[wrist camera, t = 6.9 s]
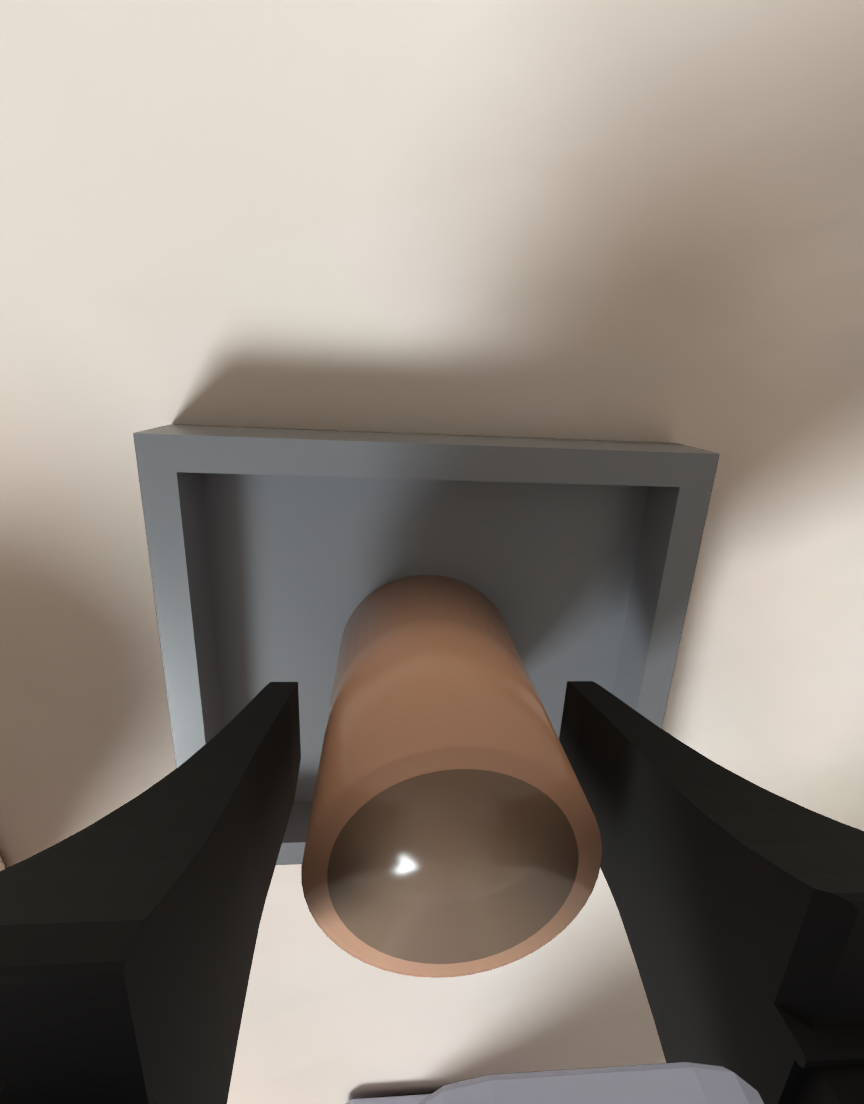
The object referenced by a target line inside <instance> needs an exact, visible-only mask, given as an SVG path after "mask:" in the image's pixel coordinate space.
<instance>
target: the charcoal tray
mask: <svg viewBox="0 0 864 1104" xmlns="http://www.w3.org/2000/svg"><path fill="white" fill-rule="evenodd" d="M133 435H134V443H135V451H136V458H137V466H138V474H139V482H140V489H141V497H142V505H143V513H144V520H145V528H146V536H147V544H148V551H149V559H150V567H151V575H152V582H153V590H154V598H155V606H156V613H157V621H158V629H159V637H160V644H161V652H162V660H163V668H164V675H165V683H166V691H167V699H168V706H169V714H170V722H171V730H172V737H173V745H174V753H175V761H176V768H178V767H179V766H180V765H182V764H183V763H184V762H185V761H187V760H188V759H189V758H190V757H191V756H192V755H194V754H195V753H196V752H197V751H198V750H199V749H201V748H202V747H203V746H204V745H205V744H206V743H208V742H209V741H210V740H211V739H212V738H213V737H214V736H215V735H216V734H217V733H219V732H220V731H221V730H222V729H223V728H224V727H225V726H226V725H227V724H228V723H229V722H230V721H231V720H232V719H233V718H234V717H235V716H236V715H237V714H238V713H239V712H240V711H241V710H242V709H243V708H244V707H245V706H246V705H247V704H248V703H249V702H250V701H251V700H252V699H253V698H254V697H255V696H256V695H257V694H258V693H259V692H260V691H261V690H262V689H263V688H264V687H265V686H266V685H267V684H269V683H270V682H298V694H299V720H300V745H301V761H300V768H299V774H298V781H297V786H296V792H295V798H294V803H293V806H292V810H291V813H290V817H289V820H288V824H287V827H286V831H285V834H284V838H283V841H282V845H281V848H280V852H279V855H278V858H277V862H276V865H289V864H302V861H303V855H304V849H305V843H306V838H307V832H308V826H309V821H310V815H311V809H312V803H313V798H314V792H315V786H316V781H317V775H318V769H319V763H320V758H321V752H322V746H323V741H324V735H325V729H326V724H327V718H328V712H329V706H330V701H331V695H332V689H333V684H334V678H335V672H336V666H337V661H338V655H339V649H340V644H341V638H342V634H343V631H344V628H345V626H346V624H347V622H348V620H349V618H350V616H351V615H352V613H353V612H354V610H355V609H356V608H357V607H358V605H359V604H360V603H361V602H362V601H363V600H364V599H365V598H366V597H368V596H369V595H370V594H371V593H373V592H374V591H376V590H377V589H379V588H380V587H382V586H384V585H386V584H388V583H390V582H393V581H396V580H399V579H402V578H406V577H411V576H417V575H439V576H445V577H450V578H453V579H457V580H460V581H462V582H464V583H466V584H469V585H471V586H472V587H474V588H475V589H477V590H479V591H480V592H481V593H482V594H484V595H485V596H486V597H487V598H488V599H489V600H490V601H491V602H492V603H493V604H494V606H495V607H496V608H497V610H498V611H499V613H500V615H501V617H502V619H503V621H504V623H505V625H506V627H507V629H508V631H509V634H510V636H511V638H512V640H513V642H514V644H515V646H516V649H517V651H518V653H519V655H520V657H521V659H522V661H523V664H524V666H525V668H526V670H527V672H528V674H529V676H530V679H531V681H532V683H533V685H534V687H535V689H536V691H537V694H538V696H539V698H540V700H541V702H542V704H543V706H544V709H545V711H546V713H547V715H548V717H549V719H550V721H551V724H552V726H553V728H554V730H555V732H556V734H557V736H558V739H559V735H560V728H561V721H562V714H563V707H564V700H565V693H566V686H567V681H593V682H595V683H597V684H598V685H600V686H601V687H603V688H604V689H606V690H607V691H609V692H610V693H612V694H613V695H614V696H616V697H617V698H619V699H620V700H621V701H623V702H624V703H626V704H627V705H628V706H630V707H631V708H633V709H634V710H635V711H637V712H638V713H640V714H641V715H642V716H644V717H645V718H647V719H648V720H650V721H651V722H652V723H654V724H655V725H657V726H658V727H660V728H662V723H663V719H664V714H665V709H666V705H667V700H668V695H669V690H670V686H671V681H672V676H673V671H674V667H675V662H676V657H677V653H678V648H679V643H680V638H681V634H682V629H683V624H684V619H685V615H686V610H687V605H688V600H689V596H690V591H691V586H692V582H693V577H694V572H695V567H696V563H697V558H698V553H699V548H700V544H701V539H702V534H703V530H704V525H705V520H706V515H707V511H708V506H709V501H710V496H711V492H712V487H713V482H714V477H715V473H716V468H717V463H718V459H719V454H717V453H713V452H709V451H705V450H701V449H697V448H693V447H689V446H685V445H681V444H677V443H656V442H629V441H602V440H575V439H547V438H520V437H493V436H466V435H439V434H412V433H385V432H358V431H330V430H303V429H276V428H249V427H222V426H195V425H166V426H162V427H158V428H154V429H149V430H145V431H141V432H137V433H133Z"/></svg>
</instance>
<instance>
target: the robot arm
mask: <svg viewBox="0 0 864 1104" xmlns="http://www.w3.org/2000/svg"><path fill="white" fill-rule="evenodd" d="M559 741H560V743H561V745H562V747H563V749H564V751H565V754H566V756H567V758H568V760H569V762H570V764H571V766H572V769H573V771H574V773H575V775H576V777H577V779H578V781H579V784H580V786H581V788H582V790H583V792H584V794H585V796H586V799H587V801H588V803H589V805H590V807H591V809H592V811H593V814H594V816H595V818H596V821H597V824H598V828H599V831H600V837H601V845H602V852H601V864H600V867H601V870H602V872H603V874H604V876H605V879H606V881H607V883H608V885H609V887H610V890H611V892H612V895H613V897H614V900H615V902H616V905H617V907H618V910H619V913H620V916H621V919H622V922H623V924H624V927H625V930H626V933H627V936H628V939H629V942H630V945H631V948H632V951H633V954H634V957H635V960H636V963H637V967H638V970H639V973H640V976H641V979H642V982H643V986H644V989H645V992H646V995H647V998H648V1002H649V1005H650V1008H651V1011H652V1014H653V1018H654V1021H655V1025H656V1028H657V1031H658V1035H659V1038H660V1042H661V1045H662V1049H663V1052H664V1056H665V1059H666V1063H663V1064H647V1065H632V1066H617V1067H601V1068H586V1069H571V1070H555V1071H540V1072H524V1073H509V1074H494V1075H485V1076H481V1077H477V1078H472V1079H468V1080H464V1081H460V1082H455V1083H451V1084H447V1085H444V1086H443V1087H441V1088H440V1089H438V1090H437V1091H435V1092H434V1093H432V1094H422V1095H407V1096H392V1097H378V1098H363V1099H353V1100H349V1101H347V1102H346V1103H345V1104H864V831H861V830H859V829H856V828H853V827H851V826H848V825H845V824H843V823H840V822H838V821H835V820H833V819H830V818H828V817H825V816H823V815H821V814H818V813H816V812H813V811H811V810H809V809H806V808H804V807H802V806H800V805H798V804H795V803H793V802H791V801H789V800H787V799H784V798H782V797H780V796H778V795H776V794H773V793H771V792H769V791H767V790H765V789H763V788H761V787H759V786H757V785H755V784H753V783H751V782H749V781H748V780H746V779H744V778H742V777H740V776H738V775H736V774H735V773H733V772H731V771H729V770H727V769H725V768H723V767H722V766H720V765H718V764H716V763H715V762H713V761H711V760H710V759H708V758H706V757H705V756H703V755H701V754H700V753H698V752H697V751H695V750H693V749H692V748H690V747H689V746H687V745H685V744H684V743H682V742H681V741H679V740H678V739H676V738H675V737H673V736H671V735H670V734H668V733H667V732H665V731H664V730H663V729H661V728H660V727H658V726H657V725H655V724H654V723H652V722H651V721H650V720H648V719H647V718H645V717H644V716H642V715H641V714H640V713H638V712H637V711H635V710H634V709H633V708H631V707H630V706H628V705H627V704H626V703H624V702H623V701H621V700H620V699H619V698H617V697H616V696H614V695H613V694H612V693H610V692H609V691H607V690H606V689H604V688H603V687H601V686H600V685H598V684H597V683H595V682H593V681H567V686H566V693H565V700H564V707H563V714H562V721H561V728H560V735H559ZM300 761H301V745H300V720H299V694H298V682H270V683H269V684H267V685H266V686H265V687H264V688H263V689H262V690H261V691H260V692H259V693H258V694H257V695H256V696H255V697H254V698H253V699H252V700H251V701H250V702H249V703H248V704H247V705H246V706H245V707H244V708H243V709H242V710H241V711H240V712H239V713H238V714H237V715H236V716H235V717H234V718H233V719H232V720H231V721H230V722H229V723H228V724H227V725H226V726H225V727H224V728H223V729H222V730H221V731H220V732H219V733H217V734H216V735H215V736H214V737H213V738H212V739H211V740H210V741H209V742H208V743H206V744H205V745H204V746H203V747H202V748H201V749H199V750H198V751H197V752H196V753H195V754H194V755H192V756H191V757H190V758H189V759H188V760H187V761H185V762H184V763H183V764H182V765H180V766H179V767H178V768H177V769H175V770H174V771H173V772H171V773H170V774H169V775H167V776H166V777H165V778H163V779H162V780H160V781H159V782H157V783H156V784H155V785H153V786H152V787H150V788H149V789H148V790H146V791H145V792H143V793H142V794H140V795H139V796H137V797H136V798H134V799H133V800H131V801H129V802H128V803H126V804H124V805H123V806H121V807H120V808H118V809H116V810H115V811H113V812H111V813H110V814H108V815H107V816H105V817H103V818H102V819H100V820H98V821H97V822H95V823H94V824H92V825H90V826H88V827H87V828H85V829H83V830H81V831H80V832H78V833H76V834H74V835H72V836H70V837H69V838H67V839H65V840H63V841H61V842H59V843H57V844H55V845H53V846H51V847H50V848H48V849H46V850H44V851H42V852H40V853H38V854H36V855H34V856H32V857H30V858H28V859H26V860H24V861H21V862H19V863H17V864H15V865H13V866H11V867H9V868H7V869H4V870H2V871H0V1104H227V1099H228V1093H229V1087H230V1081H231V1075H232V1069H233V1063H234V1058H235V1052H236V1046H237V1040H238V1035H239V1029H240V1024H241V1018H242V1013H243V1007H244V1002H245V996H246V991H247V985H248V980H249V975H250V970H251V964H252V959H253V954H254V949H255V944H256V939H257V933H258V928H259V924H260V920H261V916H262V912H263V908H264V904H265V900H266V896H267V893H268V889H269V886H270V883H271V879H272V876H273V872H274V869H275V865H276V862H277V858H278V855H279V852H280V848H281V845H282V841H283V838H284V834H285V831H286V827H287V824H288V820H289V817H290V813H291V810H292V806H293V803H294V798H295V792H296V786H297V781H298V774H299V768H300Z"/></svg>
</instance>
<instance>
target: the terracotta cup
mask: <svg viewBox="0 0 864 1104" xmlns="http://www.w3.org/2000/svg"><path fill="white" fill-rule="evenodd" d="M601 852H602V845H601V837H600V831H599V828H598V824H597V821H596V818H595V816H594V814H593V811H592V809H591V807H590V805H589V803H588V801H587V799H586V796H585V794H584V792H583V790H582V788H581V786H580V784H579V781H578V779H577V777H576V775H575V773H574V771H573V769H572V766H571V764H570V762H569V760H568V758H567V756H566V754H565V751H564V749H563V747H562V745H561V743H560V741H559V739H558V736H557V734H556V732H555V730H554V728H553V726H552V724H551V721H550V719H549V717H548V715H547V713H546V711H545V709H544V706H543V704H542V702H541V700H540V698H539V696H538V694H537V691H536V689H535V687H534V685H533V683H532V681H531V679H530V676H529V674H528V672H527V670H526V668H525V666H524V664H523V661H522V659H521V657H520V655H519V653H518V651H517V649H516V646H515V644H514V642H513V640H512V638H511V636H510V634H509V631H508V629H507V627H506V625H505V623H504V621H503V619H502V617H501V615H500V613H499V611H498V610H497V608H496V607H495V606H494V604H493V603H492V602H491V601H490V600H489V599H488V598H487V597H486V596H485V595H484V594H482V593H481V592H480V591H479V590H477V589H475V588H474V587H472V586H471V585H469V584H466V583H464V582H462V581H460V580H457V579H453V578H450V577H445V576H439V575H417V576H411V577H406V578H402V579H399V580H396V581H393V582H390V583H388V584H386V585H384V586H382V587H380V588H379V589H377V590H376V591H374V592H373V593H371V594H370V595H369V596H368V597H366V598H365V599H364V600H363V601H362V602H361V603H360V604H359V605H358V607H357V608H356V609H355V610H354V612H353V613H352V615H351V616H350V618H349V620H348V622H347V624H346V626H345V628H344V631H343V634H342V638H341V644H340V649H339V655H338V661H337V666H336V672H335V678H334V684H333V689H332V695H331V701H330V706H329V712H328V718H327V724H326V729H325V735H324V741H323V746H322V752H321V758H320V763H319V769H318V775H317V781H316V786H315V792H314V798H313V803H312V809H311V815H310V821H309V826H308V832H307V838H306V843H305V849H304V855H303V861H302V886H303V892H304V897H305V900H306V902H307V905H308V908H309V910H310V912H311V914H312V916H313V918H314V919H315V921H316V923H317V924H318V926H319V927H320V928H321V929H322V930H323V932H324V933H325V934H326V935H327V936H328V937H329V938H330V939H331V940H332V941H333V942H334V943H335V944H336V945H337V946H338V947H340V948H341V949H343V950H344V951H346V952H347V953H349V954H350V955H351V956H353V957H355V958H357V959H359V960H361V961H363V962H365V963H367V964H369V965H372V966H375V967H377V968H380V969H383V970H386V971H390V972H394V973H398V974H403V975H410V976H416V977H434V978H435V977H455V976H463V975H471V974H475V973H480V972H484V971H489V970H492V969H495V968H498V967H501V966H504V965H507V964H509V963H512V962H514V961H516V960H519V959H521V958H523V957H525V956H527V955H528V954H530V953H532V952H534V951H536V950H538V949H539V948H540V947H542V946H543V945H545V944H546V943H548V942H549V941H551V940H552V939H553V938H554V937H556V936H557V935H558V934H559V933H560V932H562V931H563V930H564V929H565V928H566V927H567V926H568V925H569V924H570V923H571V922H572V920H573V919H574V918H575V917H576V916H577V915H578V913H579V912H580V910H581V909H582V908H583V906H584V905H585V903H586V902H587V900H588V898H589V896H590V894H591V893H592V891H593V888H594V885H595V883H596V880H597V878H598V874H599V869H600V864H601Z"/></svg>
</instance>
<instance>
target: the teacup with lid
mask: <svg viewBox="0 0 864 1104" xmlns="http://www.w3.org/2000/svg"><path fill="white" fill-rule="evenodd" d="M4 869H6V868H5V865H4V863H3V861H2V859H1V857H0V871H2V870H4Z"/></svg>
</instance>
